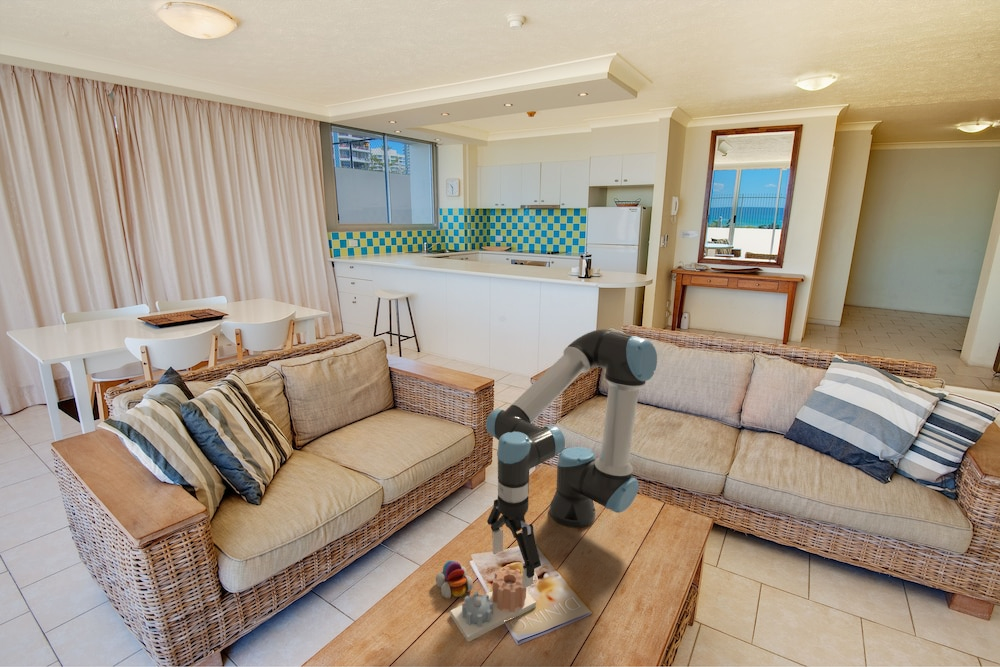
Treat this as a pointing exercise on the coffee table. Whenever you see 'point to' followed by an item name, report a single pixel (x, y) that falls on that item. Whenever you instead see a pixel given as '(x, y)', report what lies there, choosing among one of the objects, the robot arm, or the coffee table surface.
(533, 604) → the gear board
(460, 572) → the white-domed colorful disc toy
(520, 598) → the gear
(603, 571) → the coffee table surface
